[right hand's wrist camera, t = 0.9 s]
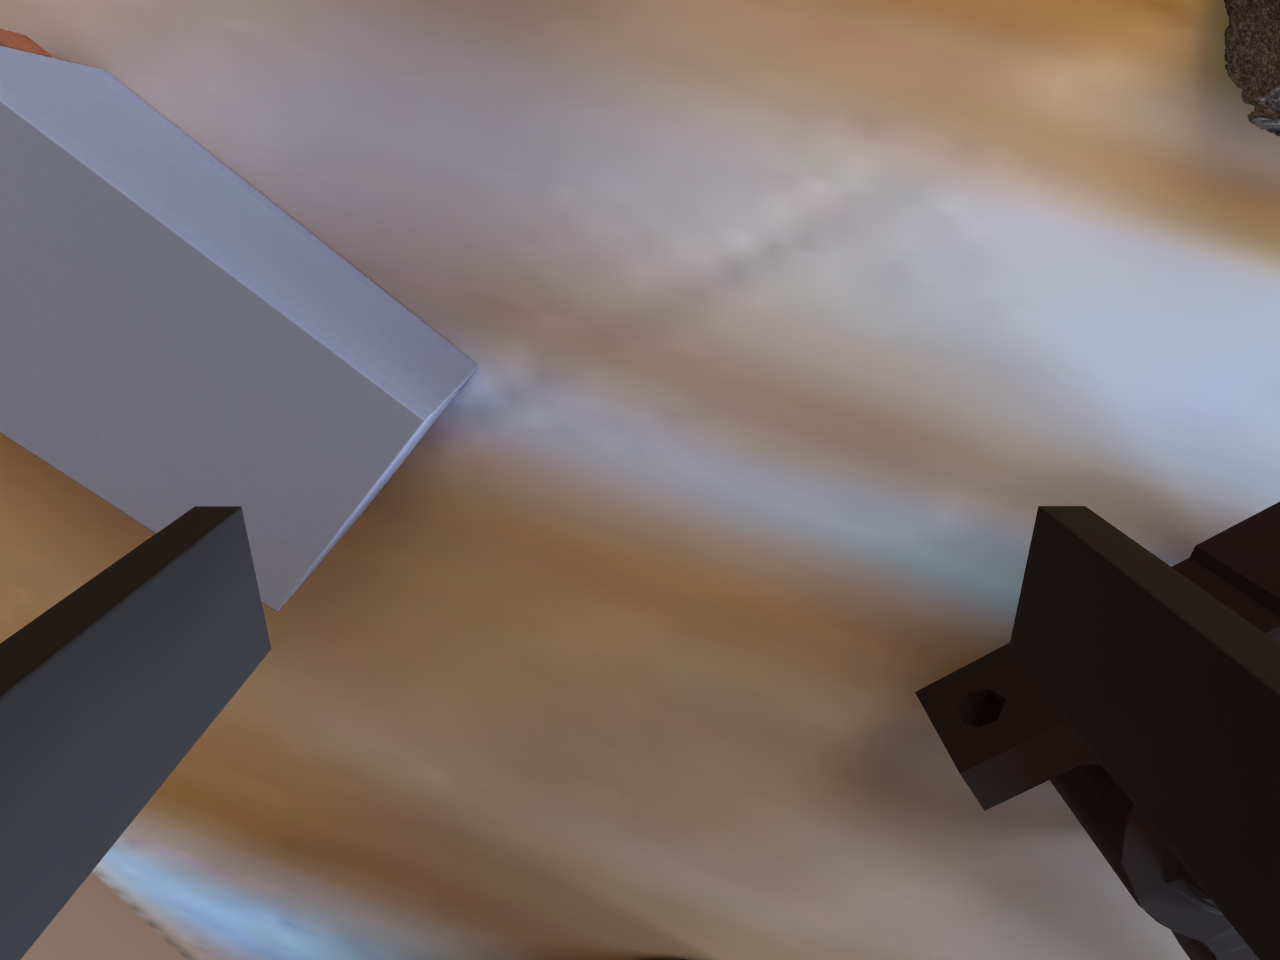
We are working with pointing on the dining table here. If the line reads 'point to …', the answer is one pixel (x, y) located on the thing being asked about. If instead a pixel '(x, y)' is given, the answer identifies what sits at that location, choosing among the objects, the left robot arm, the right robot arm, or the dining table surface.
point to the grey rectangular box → (192, 330)
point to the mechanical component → (1051, 750)
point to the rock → (1256, 57)
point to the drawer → (20, 43)
